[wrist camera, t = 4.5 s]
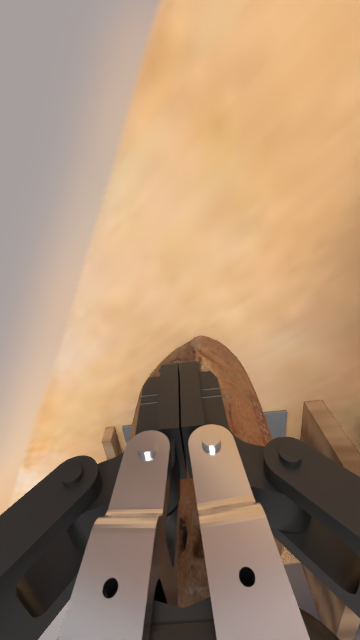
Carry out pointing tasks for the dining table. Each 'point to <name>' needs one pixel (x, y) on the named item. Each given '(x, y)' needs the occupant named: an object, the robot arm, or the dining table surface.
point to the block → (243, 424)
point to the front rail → (111, 443)
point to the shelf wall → (336, 445)
